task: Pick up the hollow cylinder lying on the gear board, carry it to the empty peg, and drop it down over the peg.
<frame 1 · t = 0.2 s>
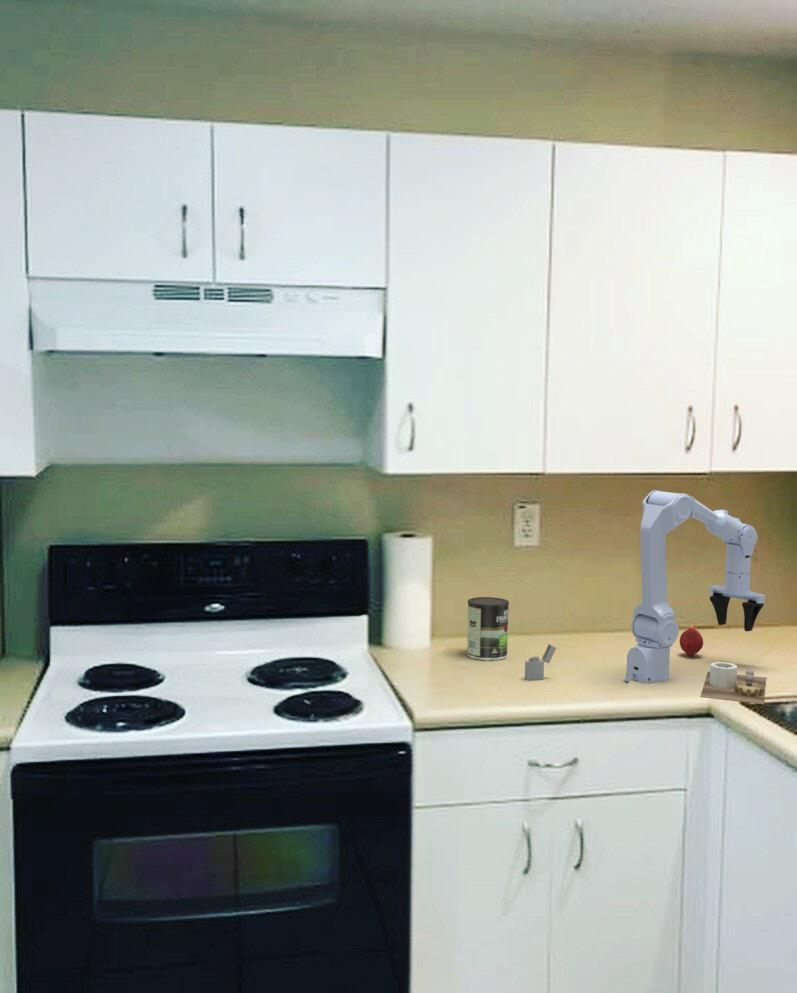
hand: (735, 627, 248), 10 cm above the countertop, tool pointing down, fingers open, 7 cm apart
gear board: (734, 692, 228), on the countertop
hollow cylinder: (722, 684, 230), point 1 cm above the countertop, touching gear board
coffee can: (487, 656, 258), on the countertop
onion: (690, 657, 260), on the countertop
lighter: (540, 679, 237), on the countertop
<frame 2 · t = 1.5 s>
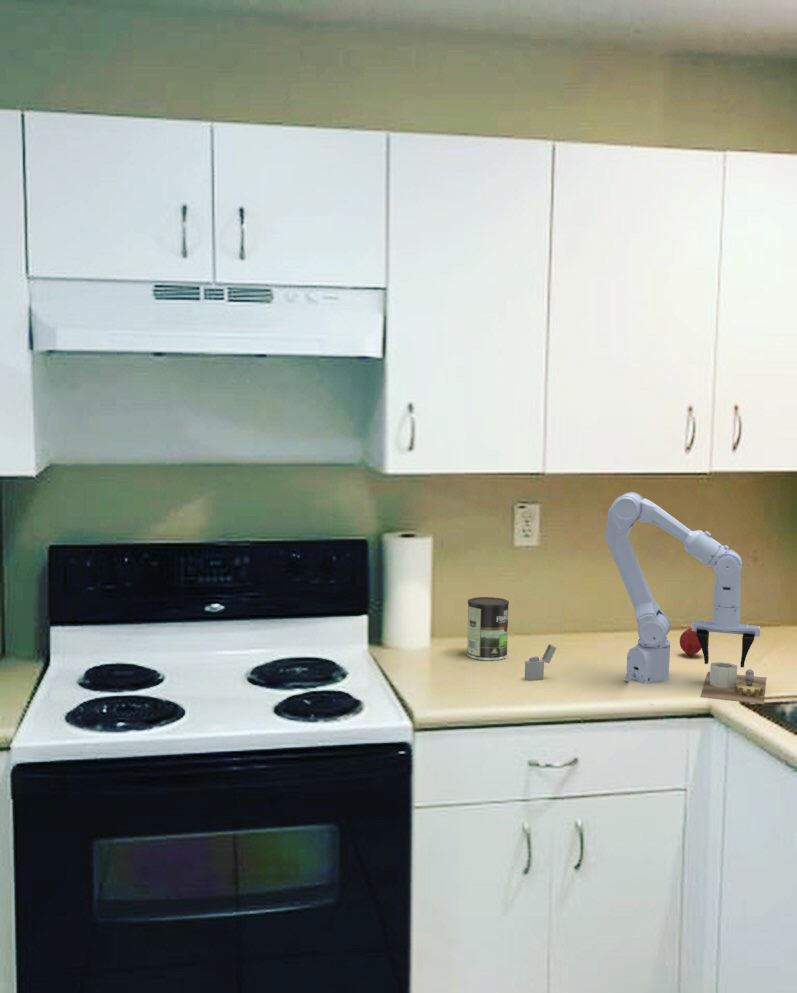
hand: (724, 664, 230), 6 cm above the countertop, tool pointing down, fingers open, 7 cm apart
nothing on the countertop moved.
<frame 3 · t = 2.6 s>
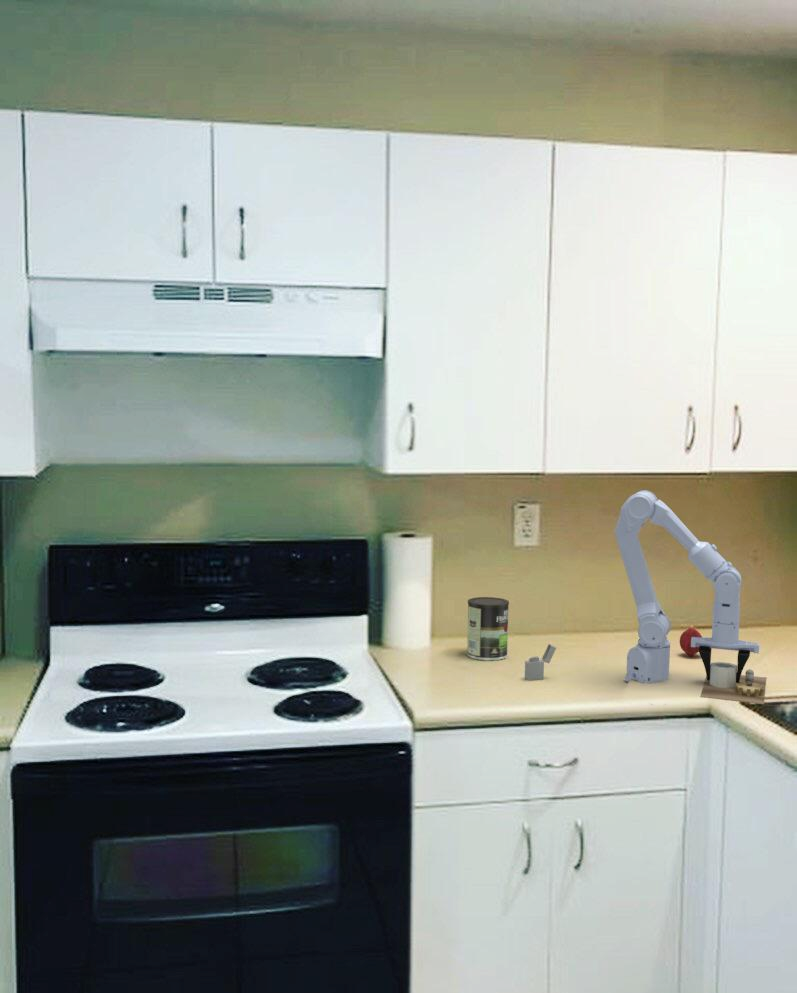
hand: (723, 681, 230), 2 cm above the countertop, tool pointing down, fingers closed on hollow cylinder, 6 cm apart
hollow cylinder: (722, 684, 230), point 1 cm above the countertop, touching gear board, gripper
everything else where it was.
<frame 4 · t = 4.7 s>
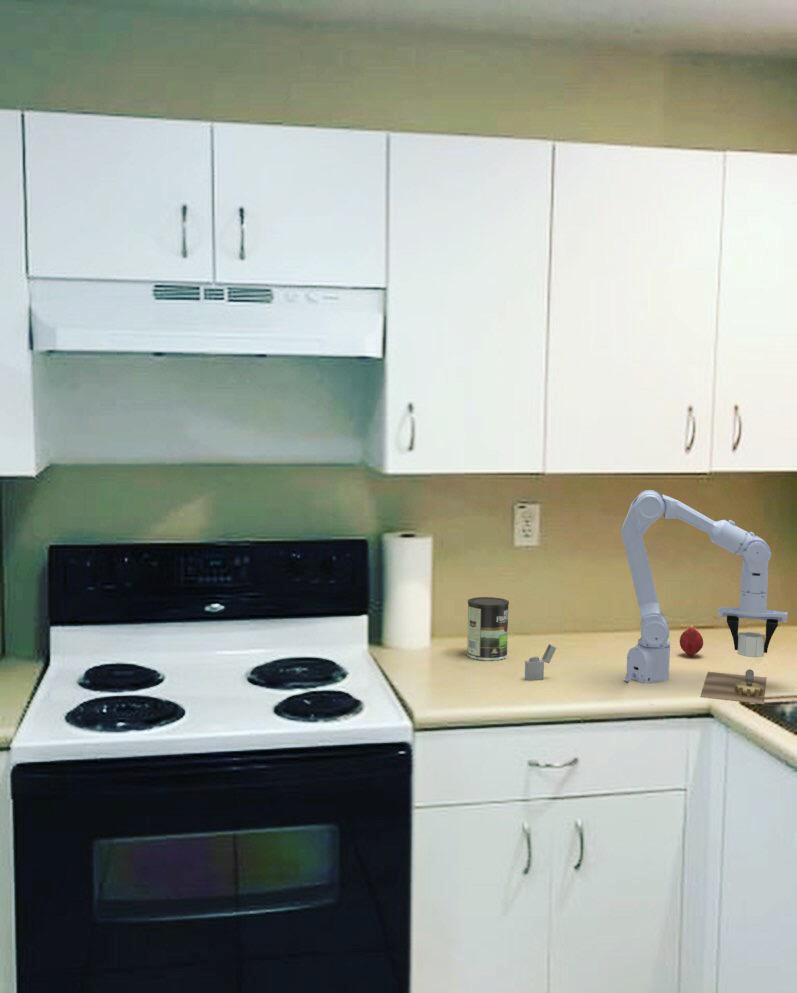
hand: (750, 650, 230), 9 cm above the countertop, tool pointing down, fingers closed on hollow cylinder, 6 cm apart
hollow cylinder: (750, 654, 230), point 8 cm above the countertop, touching gripper
everything else where it was.
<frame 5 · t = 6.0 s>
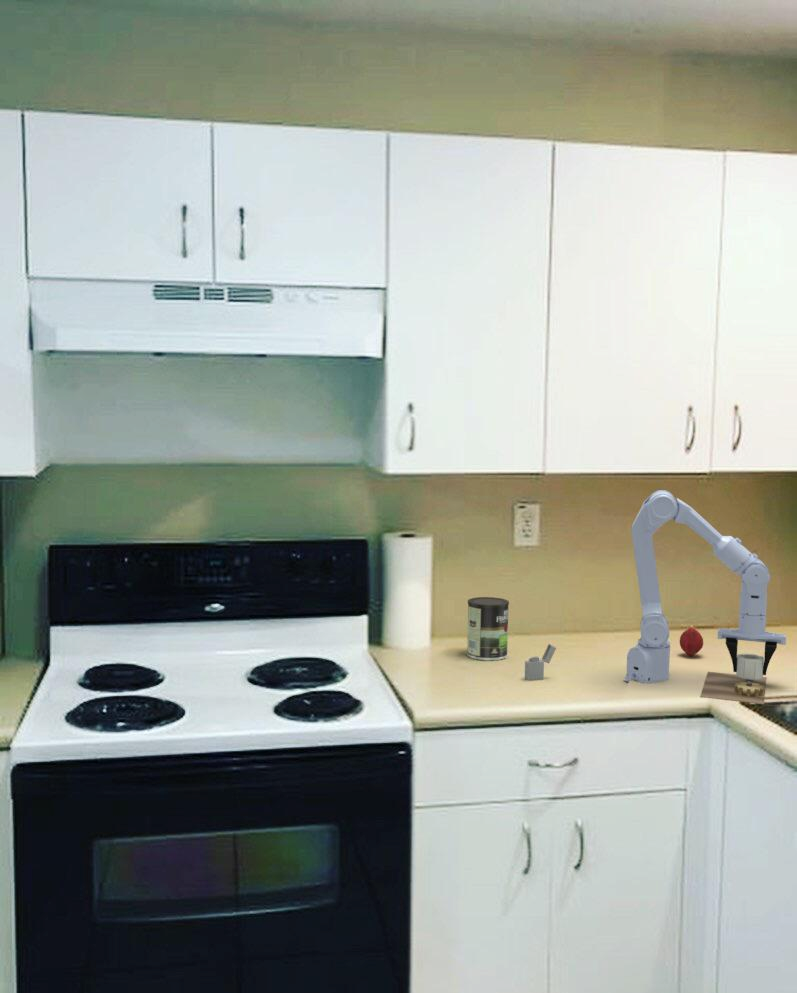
hand: (749, 672, 231), 4 cm above the countertop, tool pointing down, fingers closed on hollow cylinder, 6 cm apart
hollow cylinder: (749, 676, 231), point 3 cm above the countertop, touching gripper
everything else where it was.
when the fingers open (4 cm above the countertop, at t = 6.8 s): hollow cylinder drops 2 cm, resting on gear board.
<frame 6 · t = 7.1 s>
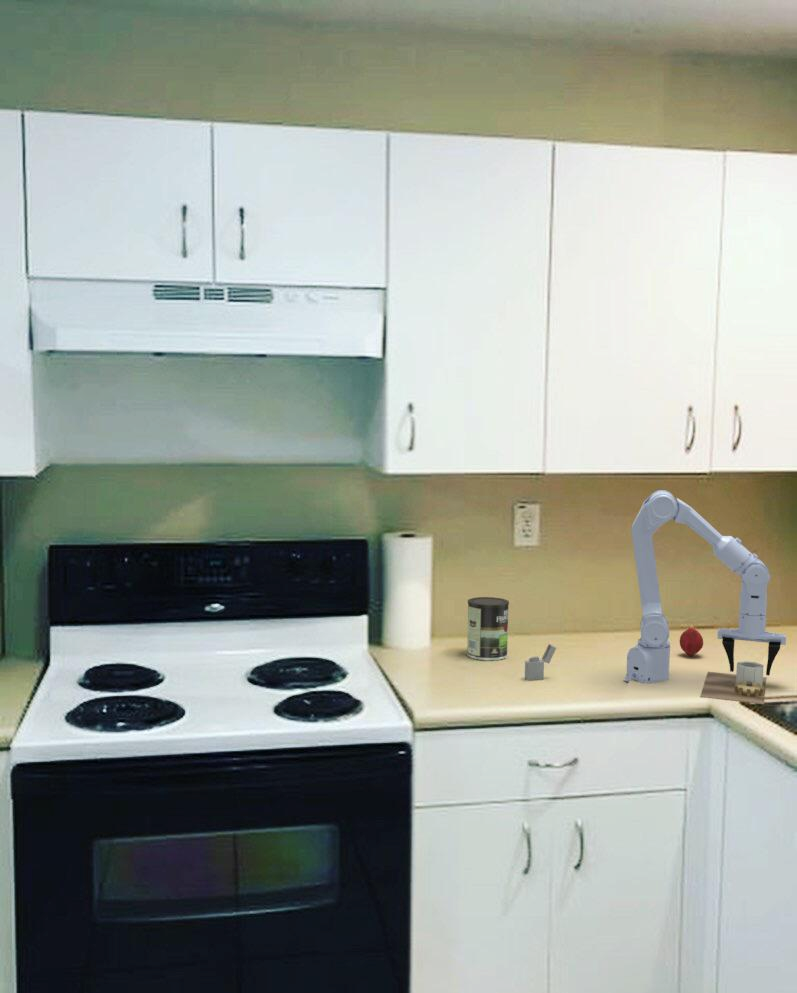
hand: (749, 672, 231), 4 cm above the countertop, tool pointing down, fingers open, 7 cm apart
hollow cylinder: (749, 683, 231), point 1 cm above the countertop, touching gear board
everything else where it was.
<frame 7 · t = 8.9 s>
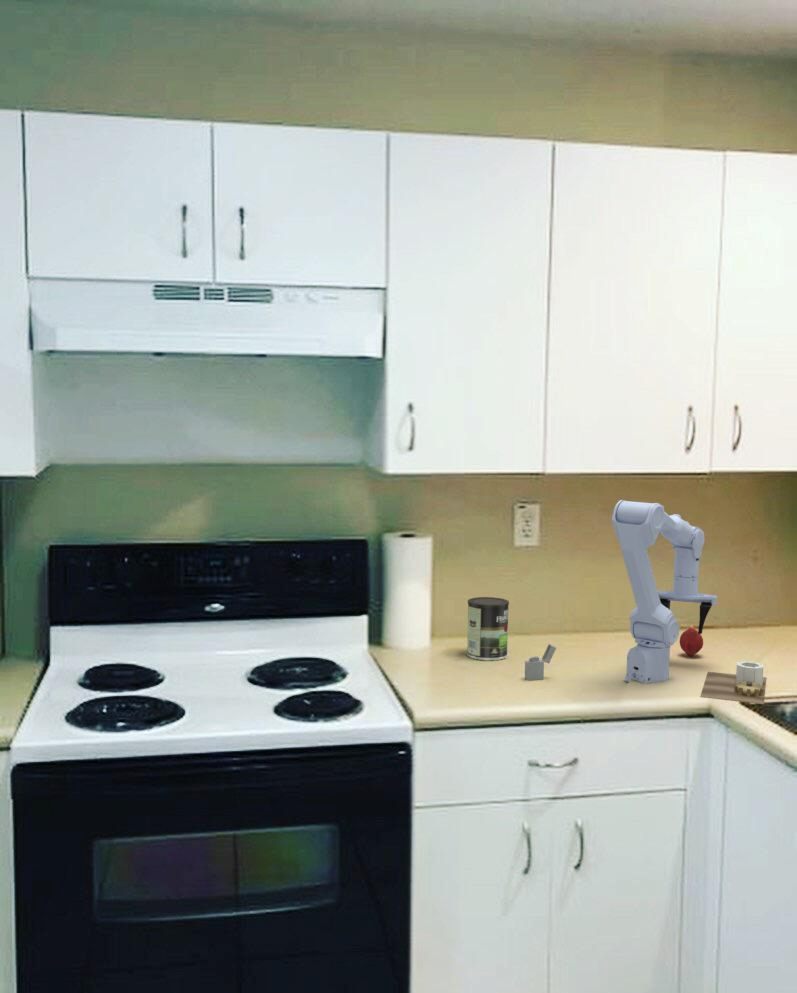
hand: (683, 631, 246), 9 cm above the countertop, tool pointing down, fingers open, 7 cm apart
nothing on the countertop moved.
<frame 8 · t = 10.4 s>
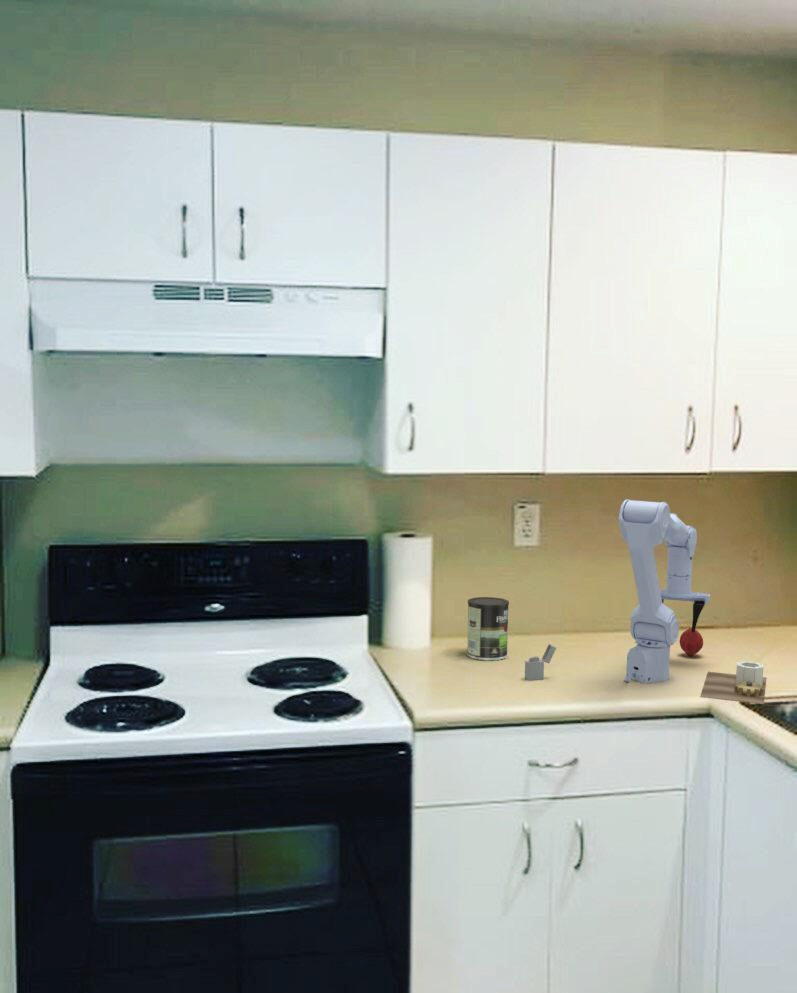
hand: (677, 629, 247), 9 cm above the countertop, tool pointing down, fingers open, 7 cm apart
nothing on the countertop moved.
at the end: hollow cylinder 0.0 cm from the target spot on the gear board, point 1.2 cm above the gear board's base; hollow cylinder tilted 0°; the gripper is holding nothing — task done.
